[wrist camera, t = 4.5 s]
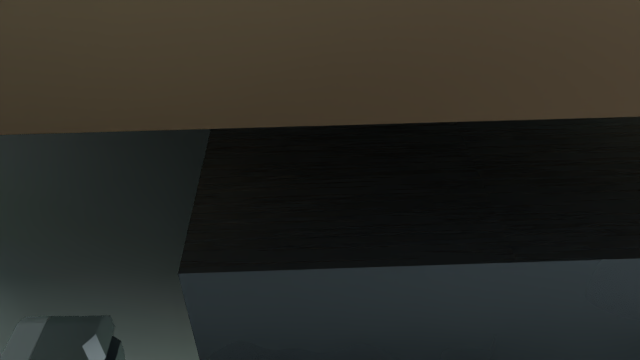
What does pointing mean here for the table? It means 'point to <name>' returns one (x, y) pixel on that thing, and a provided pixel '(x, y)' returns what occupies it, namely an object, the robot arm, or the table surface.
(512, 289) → the bracket
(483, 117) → the bay
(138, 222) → the table surface
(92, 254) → the table surface
